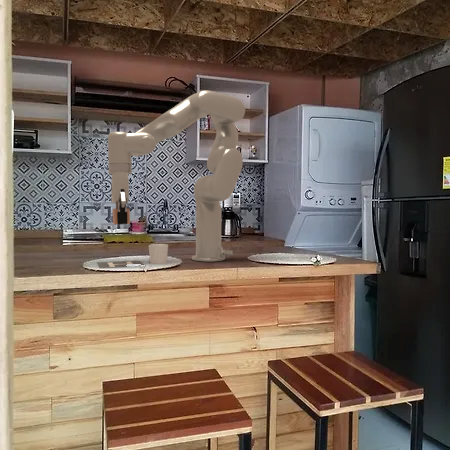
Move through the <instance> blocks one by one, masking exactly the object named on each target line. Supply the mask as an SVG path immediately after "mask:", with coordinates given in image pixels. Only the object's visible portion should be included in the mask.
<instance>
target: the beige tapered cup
mask: <svg viewBox="0 0 450 450" xmlns="http://www.w3.org/2000/svg"><path fill="white" fill-rule="evenodd" d="M168 251H169V244H166V243H151V244H148V253H149V254H148V255H149V263H150V264H153V265H162V264H164V265H165V264H167V262H168V253H169V252H168Z"/></svg>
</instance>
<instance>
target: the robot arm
mask: <svg viewBox="0 0 450 450" xmlns="http://www.w3.org/2000/svg"><path fill="white" fill-rule="evenodd" d="M245 114H246V107H245V105H244V103H243V101H242V100H241V99H239V98H238V97H235V96H231V95H228V94H224V93H220V92H217V91H213V90H209V89H207V90H205V89H204V90H200V91H198V92H195V93H193V94H191V95H190V96H188V97H187V98H185V99H183V100H182V101H180V102H179V103H178V104H176V105H175V106H174V107H173V106H172V108H170V109H168V110H167V111H165V112H164V113H163V114H161V115H159V116H158V117H157V118H155V119H154V120H153V121H151V122H149V123H148V124H147V125H145V126H143V127H142V128H140V129H139V130H137V131H136V132H125V131H112V132H109V134H108V136H107V143H108V144H107V145H108V146H107V150H108V152H107V153H108V158H107V159H108V175H111V203H113V204H115V209H118V212H117V223H118V224H117V225H128V224H127V209H128V207H127V204H128V203H129V202H130V191H129V190H130V189H129V188H130V185H129V184H130V182H129V181H130V180H129V175H132V174H133V172H132V171H133V169H132V168H133V167H132V165H133V163H132V157H140V156H141V157H142V156H147V155H149V154H151V153H152V152H154V150H155V149H156V146H157V144H159V143H161V142H163V141H164V140H166V139H170V138H172V137H174V136H176V135H178V134H180V133H182V131H185V130H186V129H187V128H188V127H190V126H191V125H192V124H195V123H196V122H197V121H199V120H200V119H201V118H203V117H206V116H208V115H209V116H210V118H211V119H210V120H211V122H212V124H213V125H214V128H215V130H216V135H215V139H214V141H213V145H212V147H211V150H210V152H209V155H208V157H207V160H206V168H207V169H208V171H209V173H212V174H211V175H204V176H201V177H200V178H198V179H196V182H195V184H194V185H193V194H194V201H195V254H194V255H192V256H191V260H192V261H197V262H221V261H224V260H226V256H232V257H233V250H229V249H227V250H225V249H224V247H223V246H222V207H221V202H223V201H226V200H228V199H229V198H230V197H231V196H232V195H233V193H234V191H235V188H236V185H237V183H238V180H239V177H240V175H241V174H240V173H241V172H242V168H243V156H242V154H241V151H240V150H239V149H237V145H238V141H239V133H238V129H237V127H236V124H235V123H237V122H239V121H240V120H242V119H244V117H245Z"/></svg>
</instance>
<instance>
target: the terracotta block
mask: <svg viewBox="0 0 450 450" xmlns="http://www.w3.org/2000/svg"><path fill="white" fill-rule="evenodd" d="M117 212H118V209H116V208H112V223H113V224H112V225H119V224H118V223H117ZM130 213H131V211H130V208H127V224H126V225H130V224H131V214H130Z"/></svg>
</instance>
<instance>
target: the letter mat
mask: <svg viewBox="0 0 450 450" xmlns="http://www.w3.org/2000/svg"><path fill="white" fill-rule="evenodd" d="M96 264H97V267H98V268H99V269H117V268H118V269H119V268H128V267H127V266H126V265H127V264H141V265H145V264H144V262H142V261H141V260H124V261H123V260H121V261H119V260H118V261H100V262H99V261H97V262H96Z"/></svg>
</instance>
